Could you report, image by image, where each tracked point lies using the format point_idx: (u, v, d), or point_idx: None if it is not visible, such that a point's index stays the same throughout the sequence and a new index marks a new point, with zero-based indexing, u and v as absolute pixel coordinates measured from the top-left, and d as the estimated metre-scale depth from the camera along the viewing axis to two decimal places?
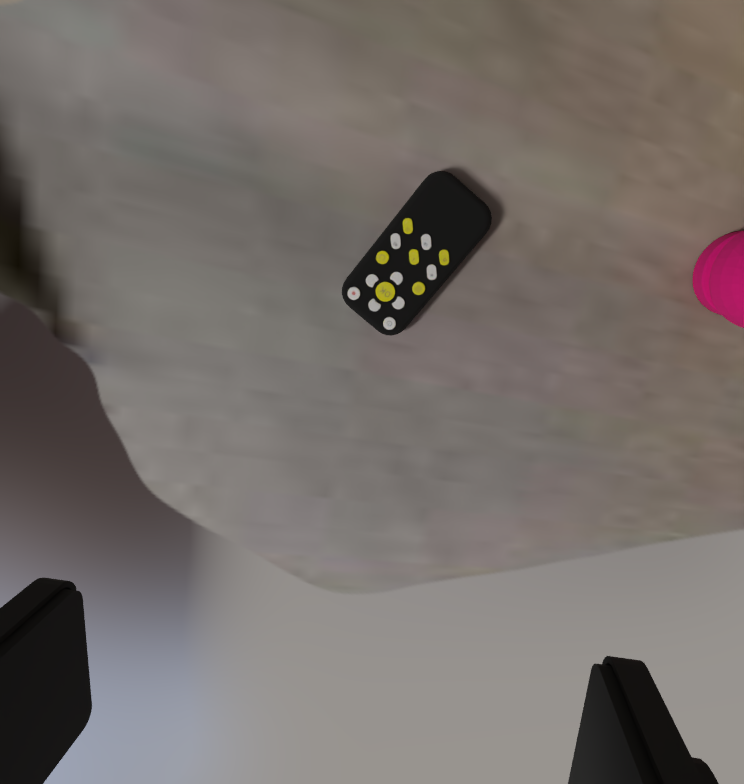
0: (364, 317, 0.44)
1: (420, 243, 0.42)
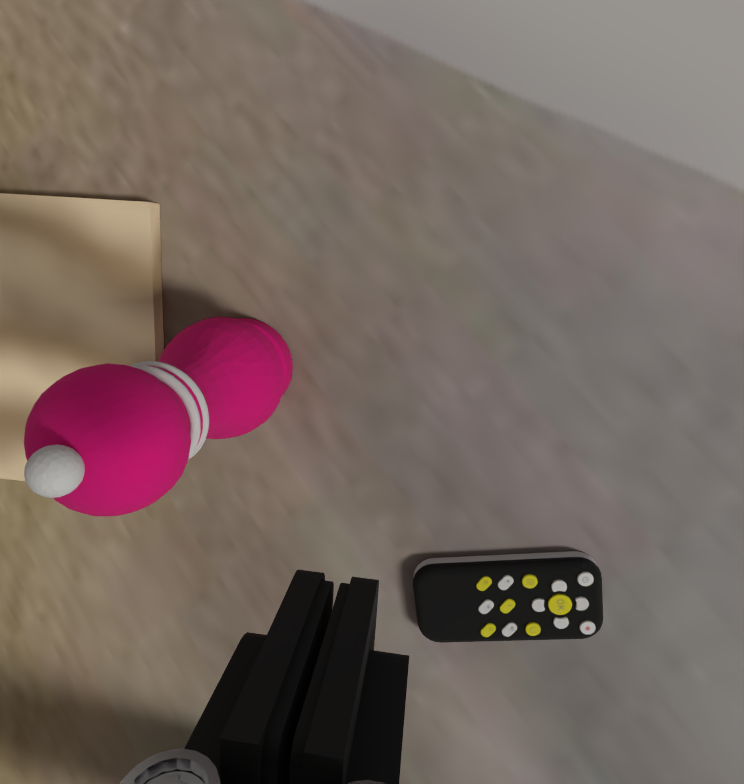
0: (600, 600, 0.36)
1: (492, 609, 0.37)
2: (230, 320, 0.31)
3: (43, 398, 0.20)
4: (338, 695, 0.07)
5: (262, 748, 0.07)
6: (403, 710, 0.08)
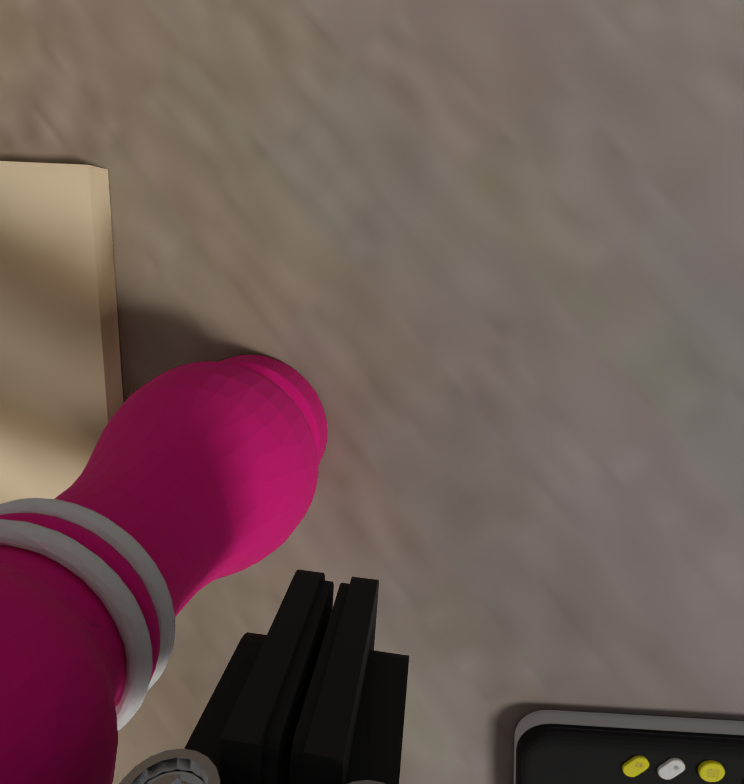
0: None
1: None
2: (224, 369, 0.18)
3: None
4: (338, 695, 0.07)
5: (262, 748, 0.07)
6: (403, 710, 0.08)
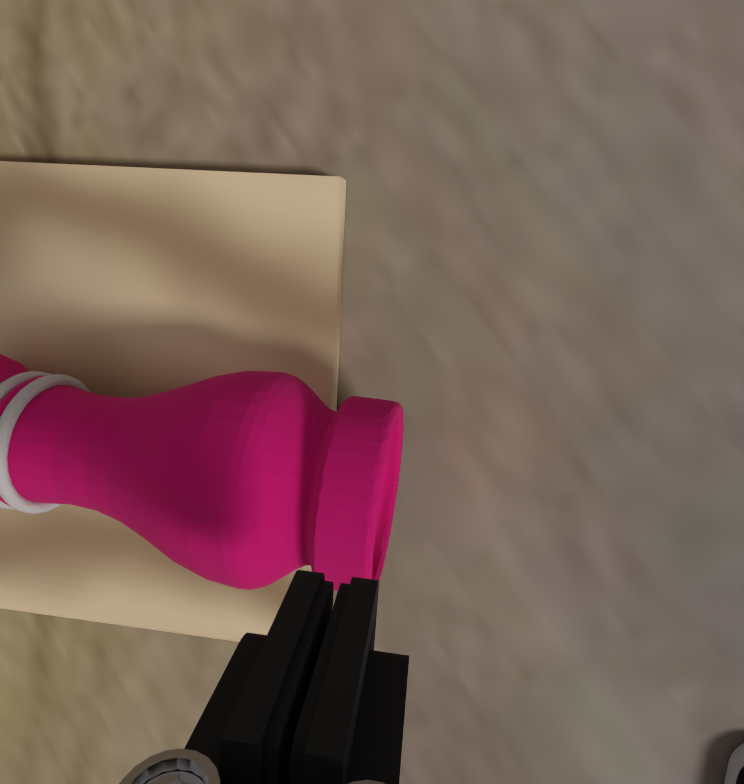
0: None
1: None
2: (246, 380, 0.17)
3: None
4: (338, 695, 0.07)
5: (262, 748, 0.07)
6: (403, 710, 0.08)
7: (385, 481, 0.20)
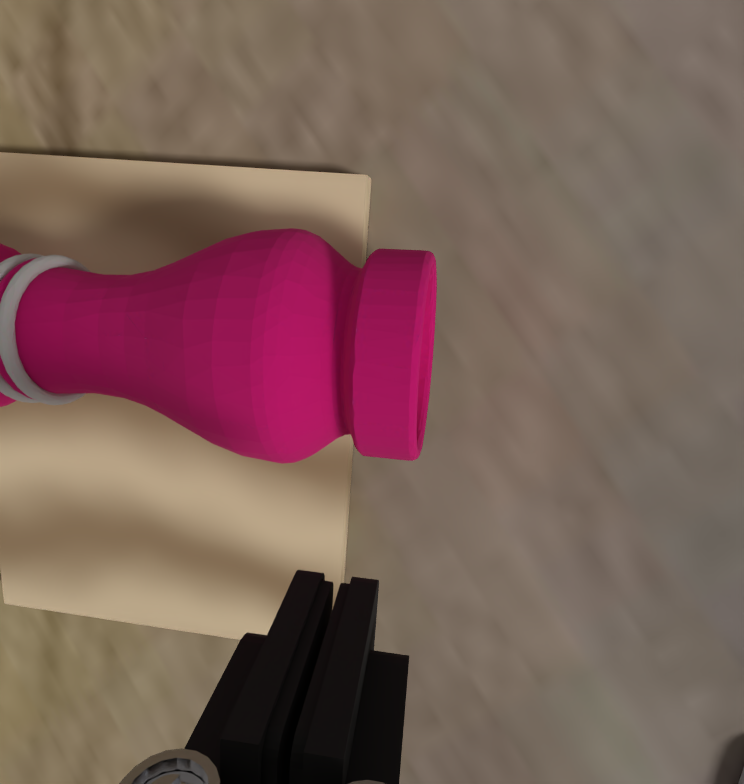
0: None
1: None
2: None
3: None
4: (338, 695, 0.07)
5: (262, 748, 0.07)
6: (403, 710, 0.08)
7: None
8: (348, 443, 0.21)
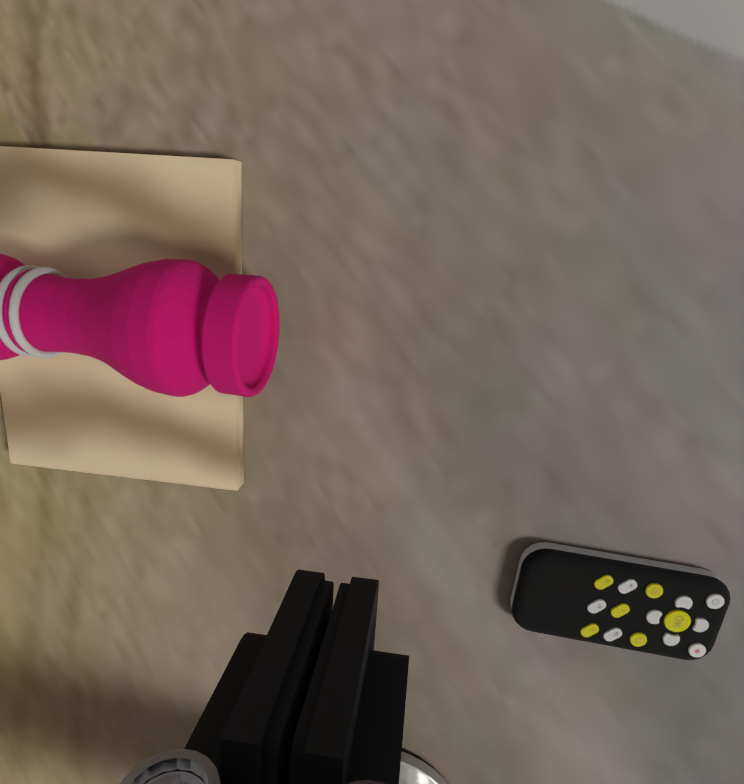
0: (720, 626, 0.34)
1: (601, 610, 0.34)
2: (178, 259, 0.28)
3: None
4: (338, 695, 0.07)
5: (262, 748, 0.07)
6: (403, 710, 0.08)
7: (266, 355, 0.31)
8: None
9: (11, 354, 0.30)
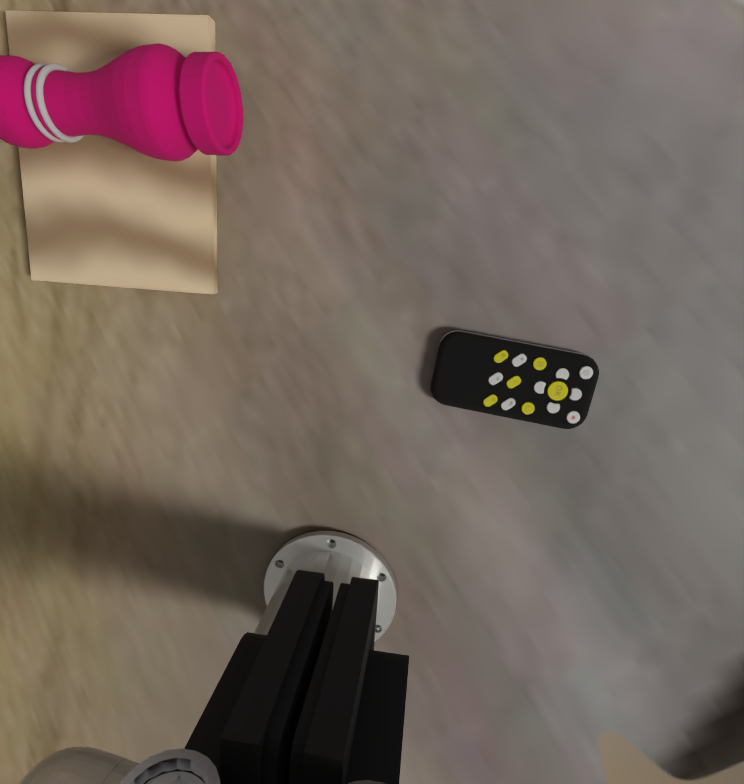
0: (591, 396, 0.43)
1: (499, 382, 0.43)
2: None
3: None
4: (338, 695, 0.07)
5: (262, 748, 0.07)
6: (403, 710, 0.08)
7: (226, 145, 0.39)
8: (209, 163, 0.42)
9: (22, 125, 0.38)
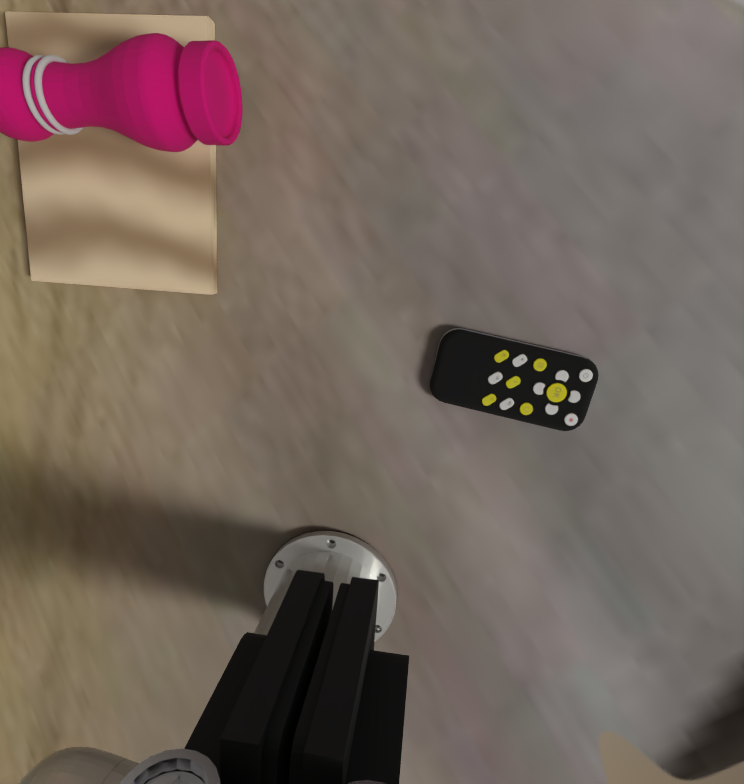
0: (589, 399, 0.43)
1: (499, 382, 0.43)
2: None
3: None
4: (338, 695, 0.07)
5: (262, 748, 0.07)
6: (403, 710, 0.08)
7: (223, 137, 0.38)
8: (209, 164, 0.42)
9: (17, 111, 0.38)
